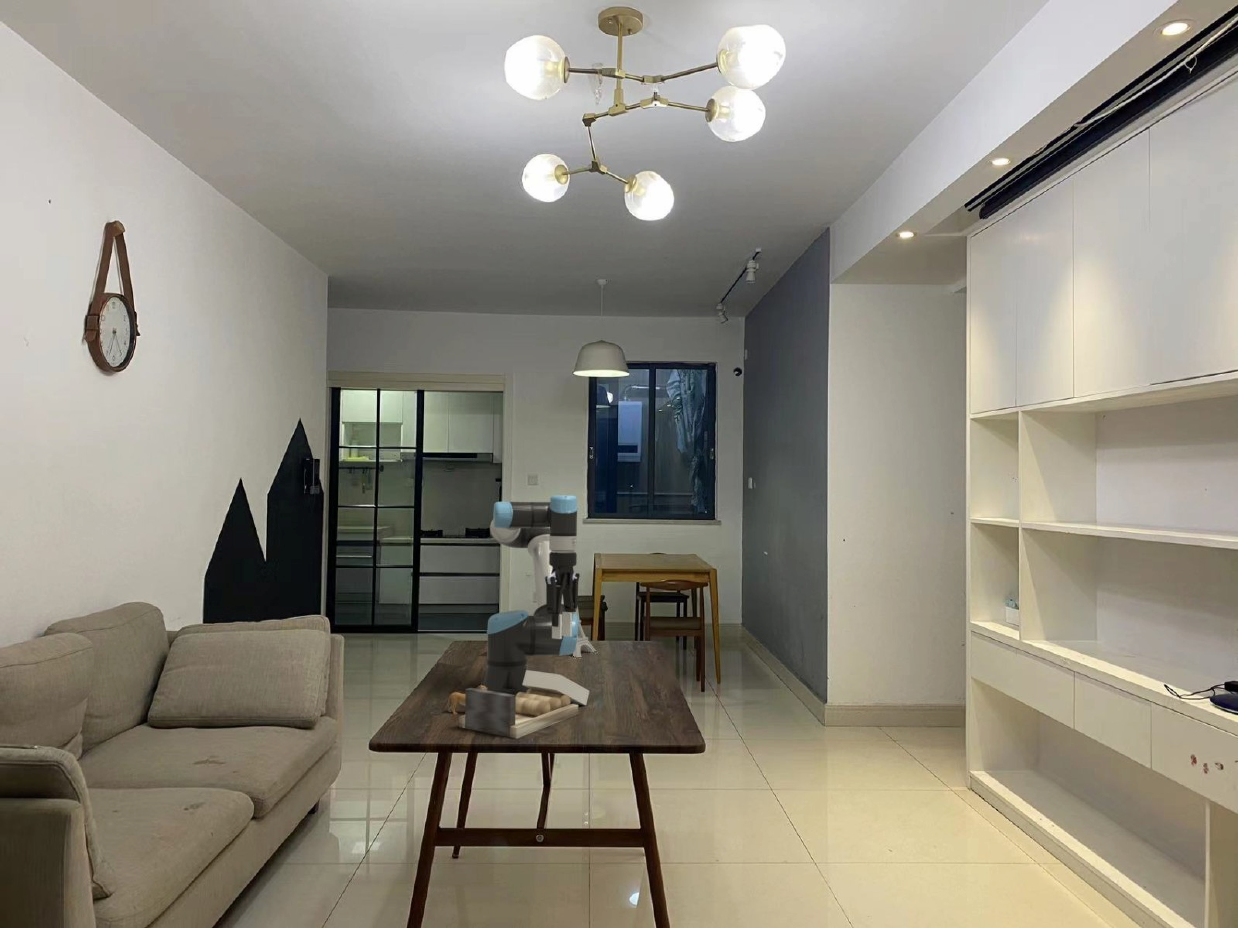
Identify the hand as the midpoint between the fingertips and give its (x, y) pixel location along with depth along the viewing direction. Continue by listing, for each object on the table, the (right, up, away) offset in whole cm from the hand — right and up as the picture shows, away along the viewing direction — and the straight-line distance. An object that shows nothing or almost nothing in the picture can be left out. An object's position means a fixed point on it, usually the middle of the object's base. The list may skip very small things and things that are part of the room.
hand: (561, 637), depth 231 cm
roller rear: (-4, -13, -6) cm, 15 cm away
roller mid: (-6, -14, -11) cm, 19 cm away
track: (-10, -18, -16) cm, 26 cm away
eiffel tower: (-1, -22, +73) cm, 76 cm away
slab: (-2, -15, -3) cm, 15 cm away
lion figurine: (-25, -18, -10) cm, 32 cm away
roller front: (-9, -14, -15) cm, 22 cm away
